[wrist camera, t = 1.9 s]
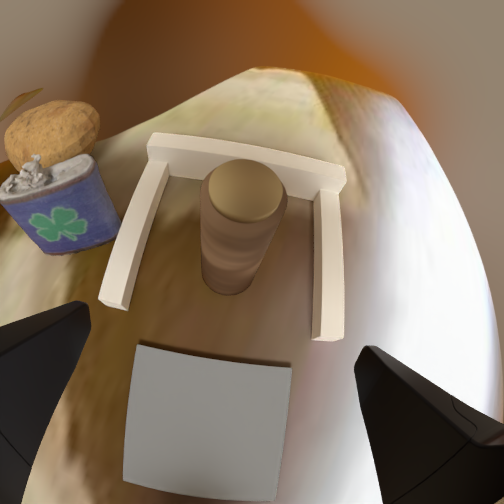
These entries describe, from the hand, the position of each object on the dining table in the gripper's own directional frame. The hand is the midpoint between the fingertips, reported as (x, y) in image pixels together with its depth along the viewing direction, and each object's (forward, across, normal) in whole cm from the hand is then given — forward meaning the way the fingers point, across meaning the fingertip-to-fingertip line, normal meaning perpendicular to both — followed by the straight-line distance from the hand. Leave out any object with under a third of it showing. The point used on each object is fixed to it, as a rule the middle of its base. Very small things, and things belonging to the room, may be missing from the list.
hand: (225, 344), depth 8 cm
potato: (+22, +22, -3) cm, 31 cm away
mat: (+5, 0, +13) cm, 14 cm away
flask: (+15, +14, +4) cm, 21 cm away
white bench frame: (+17, 0, +2) cm, 17 cm away
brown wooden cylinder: (+15, 0, +4) cm, 15 cm away
